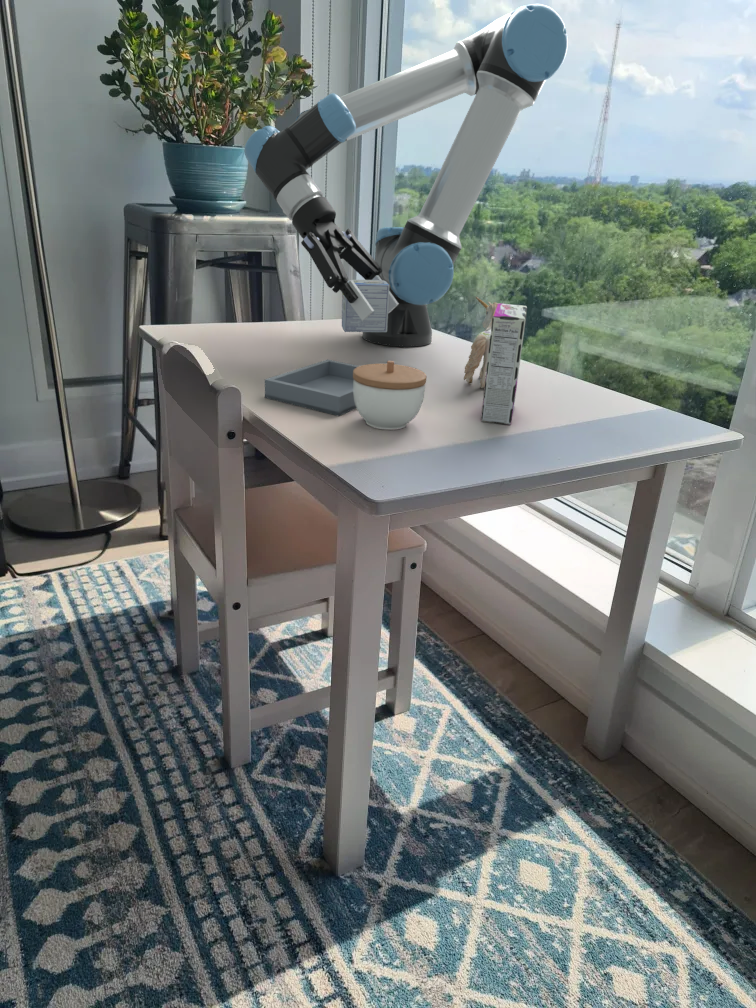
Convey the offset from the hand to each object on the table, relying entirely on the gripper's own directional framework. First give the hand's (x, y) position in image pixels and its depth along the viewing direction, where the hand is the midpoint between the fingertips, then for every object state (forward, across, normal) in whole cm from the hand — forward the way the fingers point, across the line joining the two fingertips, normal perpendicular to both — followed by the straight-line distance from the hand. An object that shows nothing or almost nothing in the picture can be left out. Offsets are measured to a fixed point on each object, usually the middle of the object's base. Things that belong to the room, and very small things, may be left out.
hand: (380, 312), depth 136 cm
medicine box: (0, 0, -5) cm, 5 cm away
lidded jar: (+19, +25, +3) cm, 31 cm away
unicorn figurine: (+19, -8, +2) cm, 21 cm away
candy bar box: (+27, +9, +11) cm, 31 cm away
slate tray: (+9, +18, -6) cm, 21 cm away
